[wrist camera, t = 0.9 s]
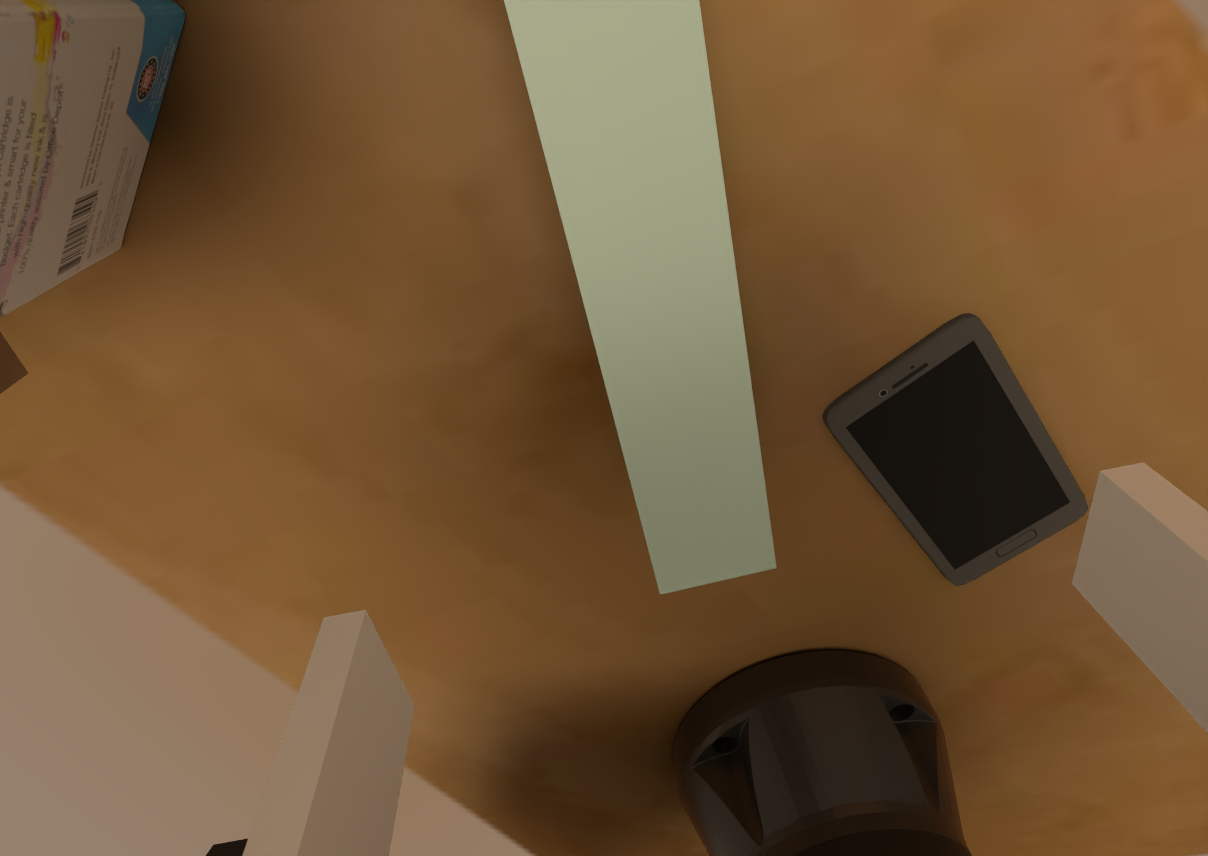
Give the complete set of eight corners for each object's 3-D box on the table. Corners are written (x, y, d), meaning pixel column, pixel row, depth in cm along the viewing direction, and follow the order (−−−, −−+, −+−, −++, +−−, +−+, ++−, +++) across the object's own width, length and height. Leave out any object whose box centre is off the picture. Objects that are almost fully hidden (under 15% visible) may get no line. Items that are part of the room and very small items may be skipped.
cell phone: (949, 581, 36) (956, 592, 36) (812, 409, 30) (818, 418, 30) (1084, 503, 34) (1095, 512, 34) (967, 301, 28) (977, 308, 28)
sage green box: (722, 441, 30) (776, 568, 24) (422, 513, 31) (390, 656, 24) (562, -506, 16) (581, -869, 10) (22, -338, 17) (-323, -567, 10)
